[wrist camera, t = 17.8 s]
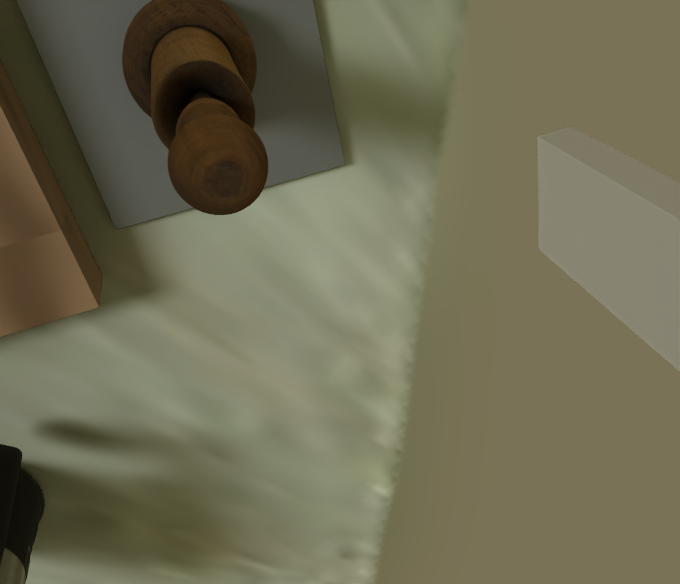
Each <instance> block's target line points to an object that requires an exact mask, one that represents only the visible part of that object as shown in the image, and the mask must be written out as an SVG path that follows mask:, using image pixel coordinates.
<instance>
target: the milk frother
mask: <svg viewBox="0 0 680 584" xmlns="http://www.w3.org/2000/svg"><path fill="white" fill-rule="evenodd" d="M21 460H22V452H21V451H20V450H19V449H18V448H15V447H11V446H7V445H2V444H0V584H25V582H26V579H27V574H28V569H29V564H30V555H31V551H32V546H33V544H34V541H35V537H36V533H37V529H38V524H39V521H40V520H41V518H42V515H43V511H44V507H45V504H44V502H45V501H44V496H43V493H42V490H41V489H40V486H39V485H38V484H37V482H36V481H35V480H34V479H33V478H32V477H31V476H29V475H28V474H27V473H25V472H24V471H22V470H20V465H21Z"/></svg>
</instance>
